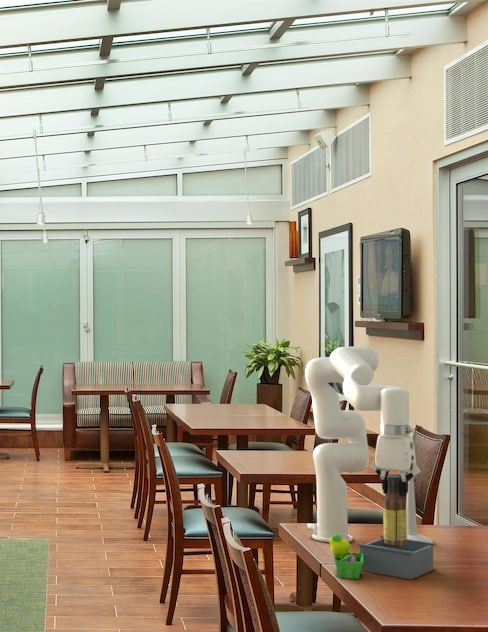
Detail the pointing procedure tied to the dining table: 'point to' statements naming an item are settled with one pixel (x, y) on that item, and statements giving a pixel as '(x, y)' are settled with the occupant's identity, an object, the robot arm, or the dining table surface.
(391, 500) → the sauce bottle
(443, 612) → the dining table surface
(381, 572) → the blue wooden frame
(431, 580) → the dining table surface
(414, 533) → the candlestick
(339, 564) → the fruit basket
